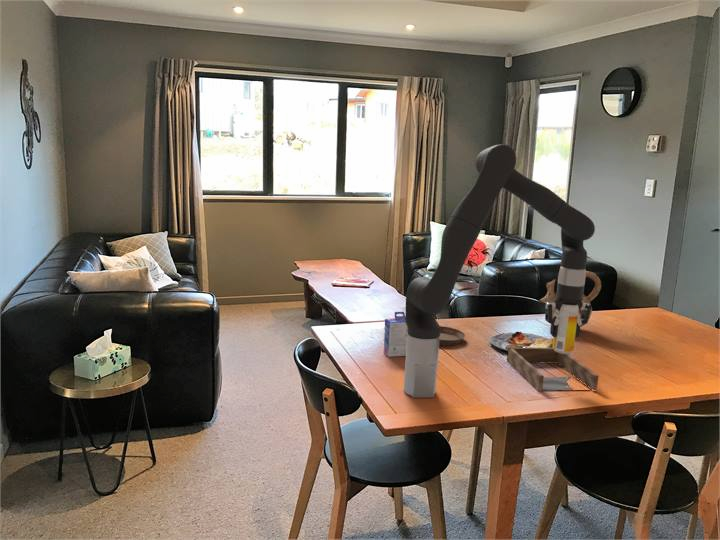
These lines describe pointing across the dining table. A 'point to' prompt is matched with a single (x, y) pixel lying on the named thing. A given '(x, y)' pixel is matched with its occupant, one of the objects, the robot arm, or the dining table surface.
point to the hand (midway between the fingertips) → (564, 336)
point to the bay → (525, 356)
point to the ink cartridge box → (395, 336)
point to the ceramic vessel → (551, 295)
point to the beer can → (566, 329)
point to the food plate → (520, 341)
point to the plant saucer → (450, 336)
